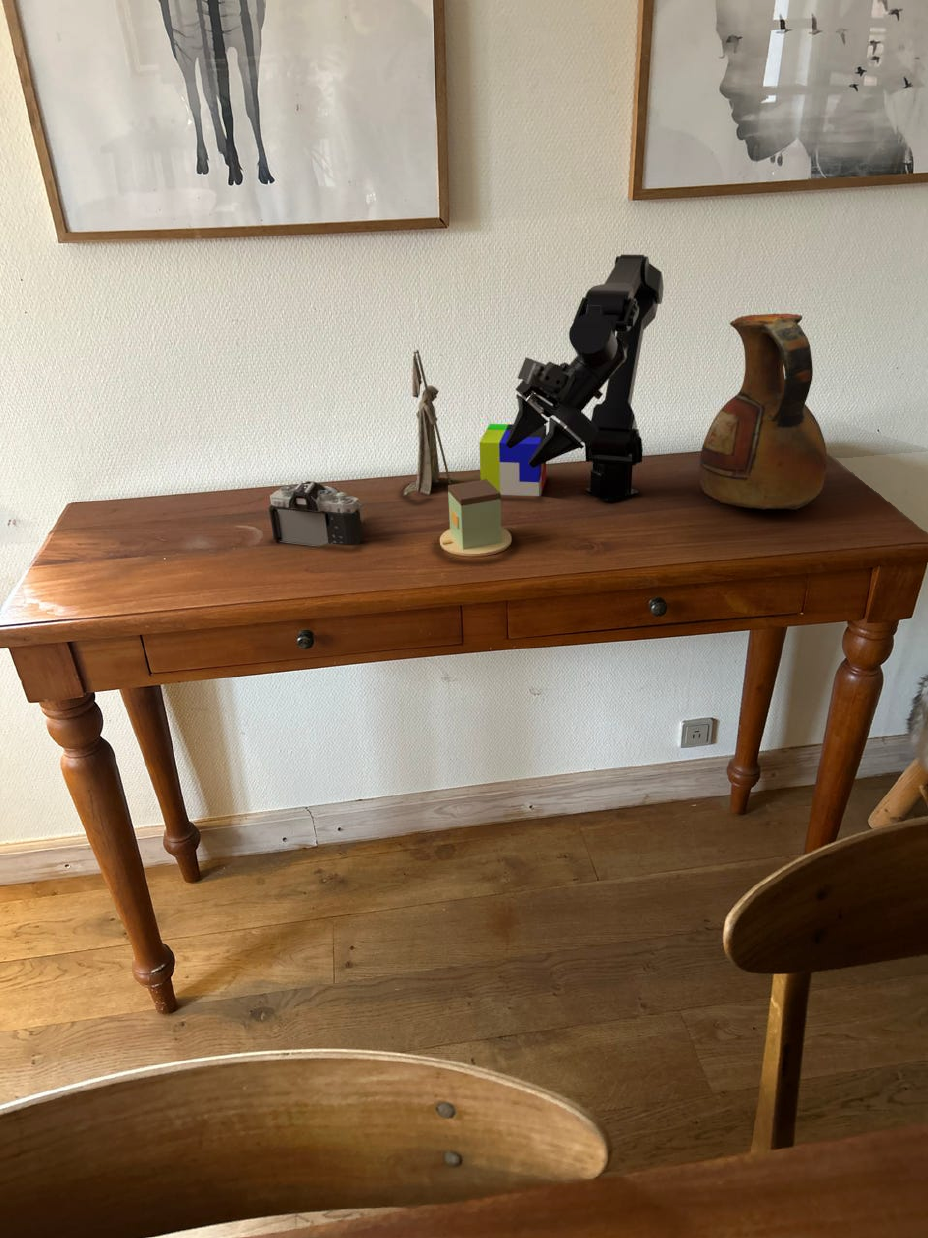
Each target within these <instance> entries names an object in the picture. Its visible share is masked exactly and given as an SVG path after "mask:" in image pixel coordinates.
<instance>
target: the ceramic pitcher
mask: <svg viewBox="0 0 928 1238" xmlns="http://www.w3.org/2000/svg"><path fill="white" fill-rule="evenodd" d="M802 320H803V315H799V314H794V313H793V314H792V313H764V314H763V313H761V314H749V315H742V316H739V317H737V318H735V319H734V320H732V321H730V322H729V325H730V326H731V327H732V328H733V329H734V330H736V332H737V333H738V335H739V337H740V339H741V341H742V345H743V349H744V376H743V382H742V385H741V388H740V390H739V391H738V392H737V394H736V395H734V396H733V397H731V398H730V399H729V400H728V401H727V402H726V403H725V404H724V405H723V406H722V408H720V410H719V411H718V412H717V414H716V416H715V417H714V418H713V420H712V423H711V424H710V426H709V428H708V431H707V433H706V435H705V438H704V441H703V443H702V446H701V451H700V457H699V466H698V467H699V468H698V469H699V470H698V471H699V482H700V486H701V489H702V491H703V492H704V493H705V494H706V495H708V496H709V497H711V498H712V499H714V500H715V501H717V502H719V503H722V504H727V505H731V506H736V507H741V508H748V509H759V510H760V509H762V510H767V509H768V510H775V509H776V510H782V509H787V510H798V509H800V508H802V507H805V506H806V505H808V504H810V503H811V502H813V500H815V499H816V497H817V496H819V494H820V493H821V492H822V490H823V487H824V483H825V479H826V475H827V465H828V454H827V453H828V452H827V446H826V441H825V437H824V434H823V432H822V428H821V425H820V424H819V422H818V420H817V418H816V417H815V415H814V413H813V412H812V411H811V410H810V408H809V407H808V405H807V404H806V402H807V400H808V396H809V394H810V390H811V385H812V381H813V375H814V367H813V357H812V349H811V344H810V341H809V338H808V337H807V335H806V333H805V332H804V330H803V328H802V326H801V325H800V324H799V323H800V322H801V321H802Z"/></svg>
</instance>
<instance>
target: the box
mask: <svg viewBox="0 0 928 1238" xmlns="http://www.w3.org/2000/svg"><path fill="white" fill-rule="evenodd" d="M447 491H448V492H447V494H448V495H447V496H448V497H447V498H448V514H449V515H448V516H449V529H447V530H445V531H443V533H442V534H441V535H440V537H439V544H440V546H441V548H442V549H443V550H444V551H445V552H448V553H450V554H453V555H455V556H462V557H471V558H473V557H487V556H490V555H495V554H498V553H501V552H503V551H505V550H506V549H507V548H509V547H510V546H511V544H512V540H513V539H512V534H511V533H510V532H509V530H507V529H506V528H504V527H502V500H501V499H502V497H501V496H502V495H501V493H500V492H499V491H498V490H497V489H496V488H495V487H494V486H493V485H492V484H491V483H490V482H489V481H488V480H487V479H484V480H481V479H479V480H471V481H466V482H459V483H454V484H451V485H450V484H448V485H447Z"/></svg>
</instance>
